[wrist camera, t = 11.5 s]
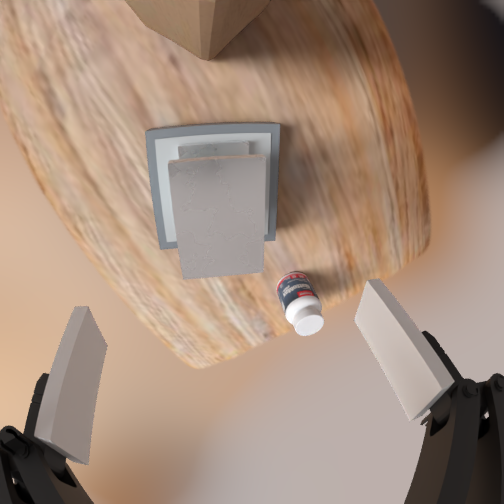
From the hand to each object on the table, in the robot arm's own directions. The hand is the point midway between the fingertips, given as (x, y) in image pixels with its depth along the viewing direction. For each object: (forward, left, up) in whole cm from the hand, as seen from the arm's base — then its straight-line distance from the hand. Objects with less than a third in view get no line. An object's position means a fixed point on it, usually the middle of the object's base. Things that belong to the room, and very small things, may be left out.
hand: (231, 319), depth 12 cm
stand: (0, 0, -23) cm, 23 cm away
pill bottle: (+17, +11, -23) cm, 31 cm away
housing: (0, 0, -20) cm, 20 cm away
